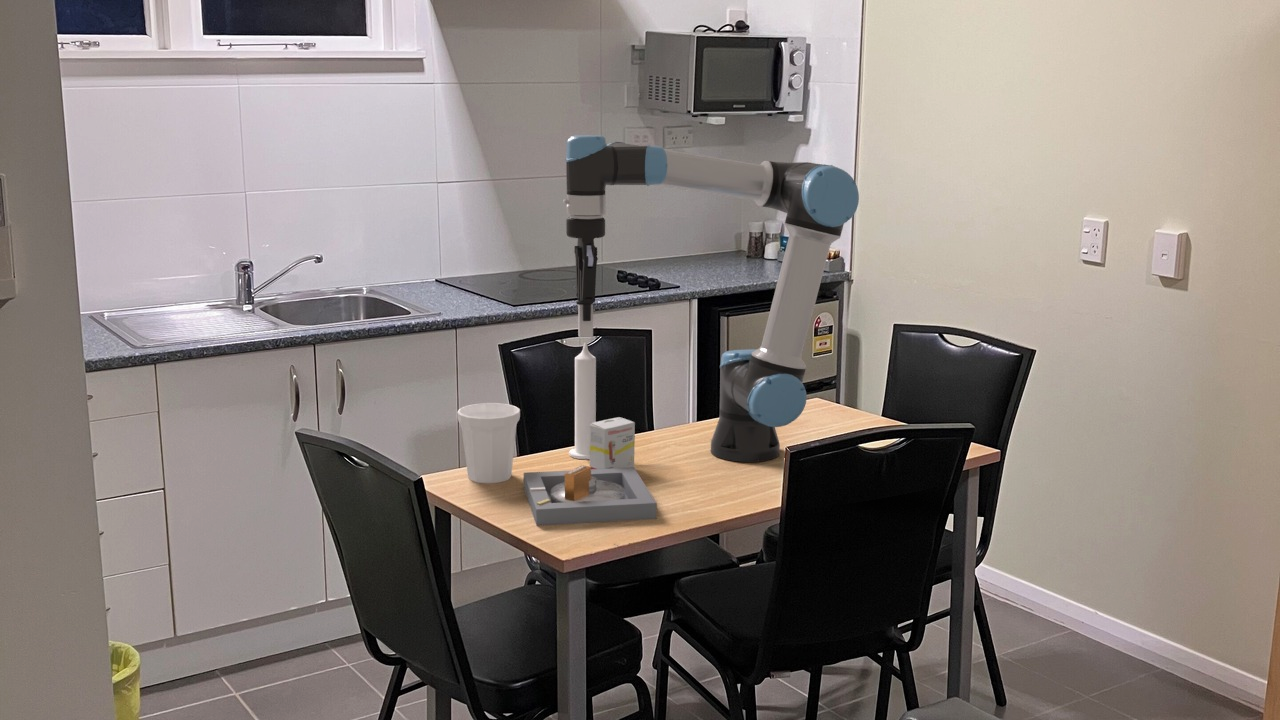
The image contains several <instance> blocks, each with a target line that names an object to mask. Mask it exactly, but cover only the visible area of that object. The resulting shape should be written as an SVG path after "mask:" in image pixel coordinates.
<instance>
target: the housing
mask: <svg viewBox="0 0 1280 720" xmlns="http://www.w3.org/2000/svg"><path fill="white" fill-rule="evenodd" d="M571 470H572V469H570V470H556V471H555V470H553V471H552V470H551V471H550V470H549V471H534V472H523V490H524V492H525V495H526V499H527V500H528V501H527V503H528V505H529V507H530V511H531V513H532V516H533V519H534V521H535V526H552V525H555V526H556V525H568V524H569V525H571V524H572V525H573V524H587V523H588V524H589V523H590V524H591V523H607V522H622V521H623V522H625V521H626V522H628V521H639V520H640V521H641V520H642V521H643V520H657V516H658V515H657V512H658V511H657V509H658V505H657V501H656V499H655V498H654V497H653V495H652V493H651V492H650V490H649V489H648V487H647V485H646V484H645V483H644V482H645V481H643V479H642V478H641V476H640V474H639V473H638V471H637V470H636V468H635V466H634V467H632V468H611V469H591V476H592V477H595V478H596V480H603V481H609V482H613V483H616V484H618V485H620V486H622V487H623V488H624V490H625V499H620V500H601V501H582V502H563V503H551V489H552V488H553V487H554V486H556V485H558V484H560V483H563V482H565V473H567V472H569V471H571Z"/></svg>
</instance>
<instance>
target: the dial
mask: <svg viewBox="0 0 1280 720" xmlns="http://www.w3.org/2000/svg"><path fill="white" fill-rule="evenodd" d="M570 470H571V471H570ZM570 470H568V471H569V472H567V473H565V482H563V483H560V484H558V485H556V486H554V487H553V488H552V489H551V503H563V502H582V501H601V500H620V499H625V490H624V488H623V487H622V486H620V485H618V484H616V483H613V482H609V481H603V480H596V478H595V477H592V476H591V467H590V466H587V465H582V464H581V465H579V466H578V467H575V468H573V469H570Z"/></svg>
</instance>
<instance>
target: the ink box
mask: <svg viewBox="0 0 1280 720" xmlns="http://www.w3.org/2000/svg"><path fill="white" fill-rule="evenodd" d="M635 425H636V423H635V421H632V420H630V419H626V418H625V417H624V418H623V417H620V416H618V417H613V418H608V419H603V420H599V421H596V422H594V423H592V424H591V425H590V459H589V467H591V469H611V468H632V467H634V468H635V444H636V443H635V441H636V440H635V439H636V436H635V432H636V430H635V428H636V427H635Z"/></svg>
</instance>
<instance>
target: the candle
mask: <svg viewBox="0 0 1280 720" xmlns="http://www.w3.org/2000/svg"><path fill="white" fill-rule="evenodd" d="M596 381H597V358H596V356H594V355H593V354H592V353H591V352H590V351H589V348H588V344H587V342H584V343H583V347H582V350H581V351H580V353H578V355H576V356H575V357H574V448H571V449H570V450H569V451H568V455H569V456H570V457H571V458H573V459H577V460H590V425H591V424H592V423H594V422H597V421H596V420H597V418H596V417H597V416H596V412H597V402H596V400H597V397H596V396H597V393H596V392H597V391H596V390H597V386H596V385H597V382H596Z"/></svg>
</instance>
